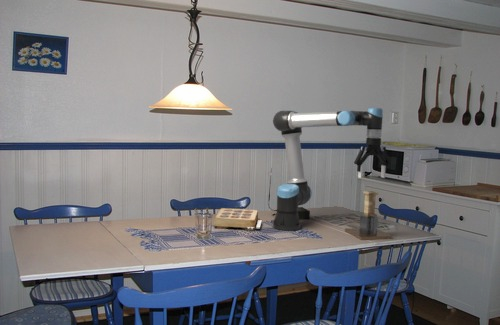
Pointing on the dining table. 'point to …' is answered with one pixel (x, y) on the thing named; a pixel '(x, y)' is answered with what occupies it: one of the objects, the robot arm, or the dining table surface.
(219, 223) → the beige slotted box
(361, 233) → the stand
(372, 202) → the column
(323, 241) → the dining table surface
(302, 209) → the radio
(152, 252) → the dining table surface
